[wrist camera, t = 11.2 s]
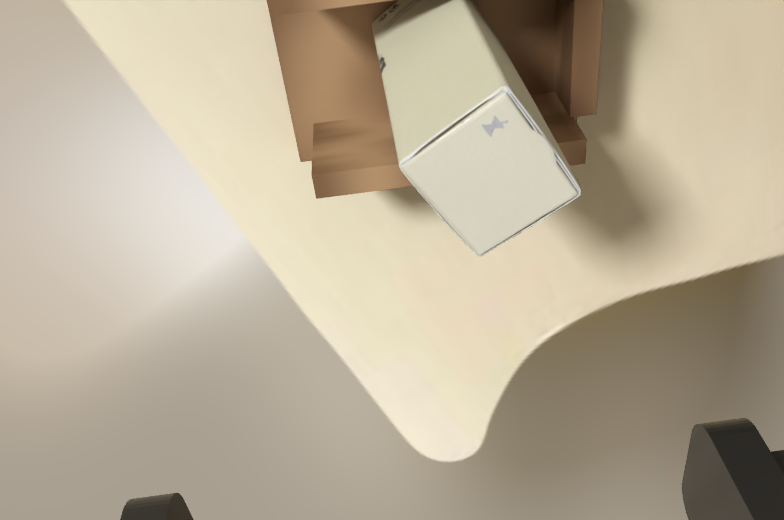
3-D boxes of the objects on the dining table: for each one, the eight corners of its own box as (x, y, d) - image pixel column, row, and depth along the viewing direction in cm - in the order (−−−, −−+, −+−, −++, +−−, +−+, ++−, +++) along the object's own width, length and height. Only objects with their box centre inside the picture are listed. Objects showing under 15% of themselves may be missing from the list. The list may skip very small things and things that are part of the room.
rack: (580, -119, 31) (626, -88, 26) (571, 116, 38) (606, 175, 33) (254, -75, 31) (240, -36, 27) (301, 152, 38) (297, 216, 33)
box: (367, 21, 33) (385, 161, 23) (447, -42, 32) (505, 77, 21) (434, 106, 36) (477, 265, 26) (511, 51, 34) (589, 196, 24)
